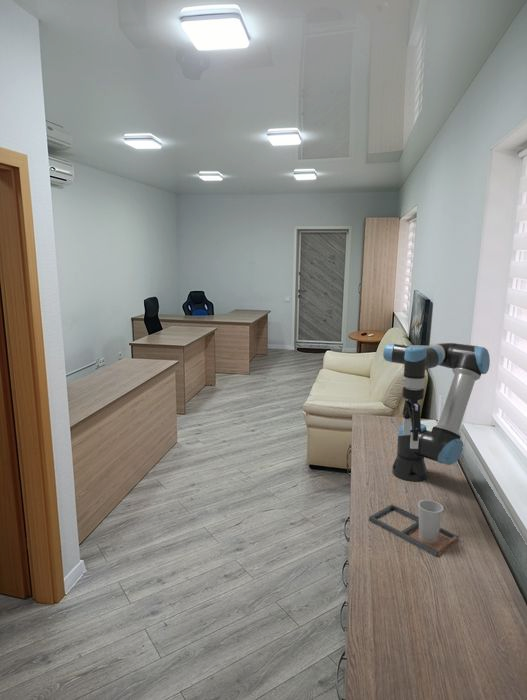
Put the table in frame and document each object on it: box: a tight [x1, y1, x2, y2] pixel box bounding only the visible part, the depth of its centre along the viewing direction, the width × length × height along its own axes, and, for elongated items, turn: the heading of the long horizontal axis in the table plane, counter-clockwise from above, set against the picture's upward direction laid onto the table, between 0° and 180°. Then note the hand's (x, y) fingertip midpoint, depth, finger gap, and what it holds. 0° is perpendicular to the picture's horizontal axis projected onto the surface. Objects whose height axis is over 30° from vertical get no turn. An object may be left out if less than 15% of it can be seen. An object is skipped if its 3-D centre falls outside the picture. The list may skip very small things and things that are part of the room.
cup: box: [418, 499, 444, 543], centre depth 153 cm, size 8×8×12 cm
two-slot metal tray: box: [368, 504, 460, 557], centre depth 159 cm, size 27×14×2 cm, turn 39°
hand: (410, 441), depth 171 cm, fingers open, 13 cm apart
